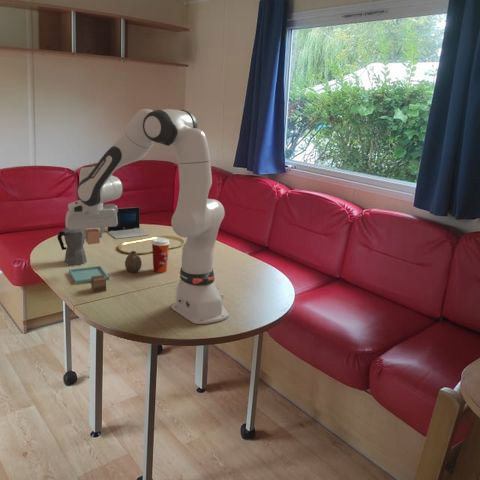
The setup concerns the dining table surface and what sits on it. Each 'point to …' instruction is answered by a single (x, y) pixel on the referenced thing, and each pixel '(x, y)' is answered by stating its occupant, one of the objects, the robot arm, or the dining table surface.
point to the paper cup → (160, 254)
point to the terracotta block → (92, 236)
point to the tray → (87, 274)
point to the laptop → (127, 224)
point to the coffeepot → (73, 246)
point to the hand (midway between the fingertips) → (92, 238)
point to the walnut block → (98, 283)
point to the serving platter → (149, 240)
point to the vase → (133, 262)
